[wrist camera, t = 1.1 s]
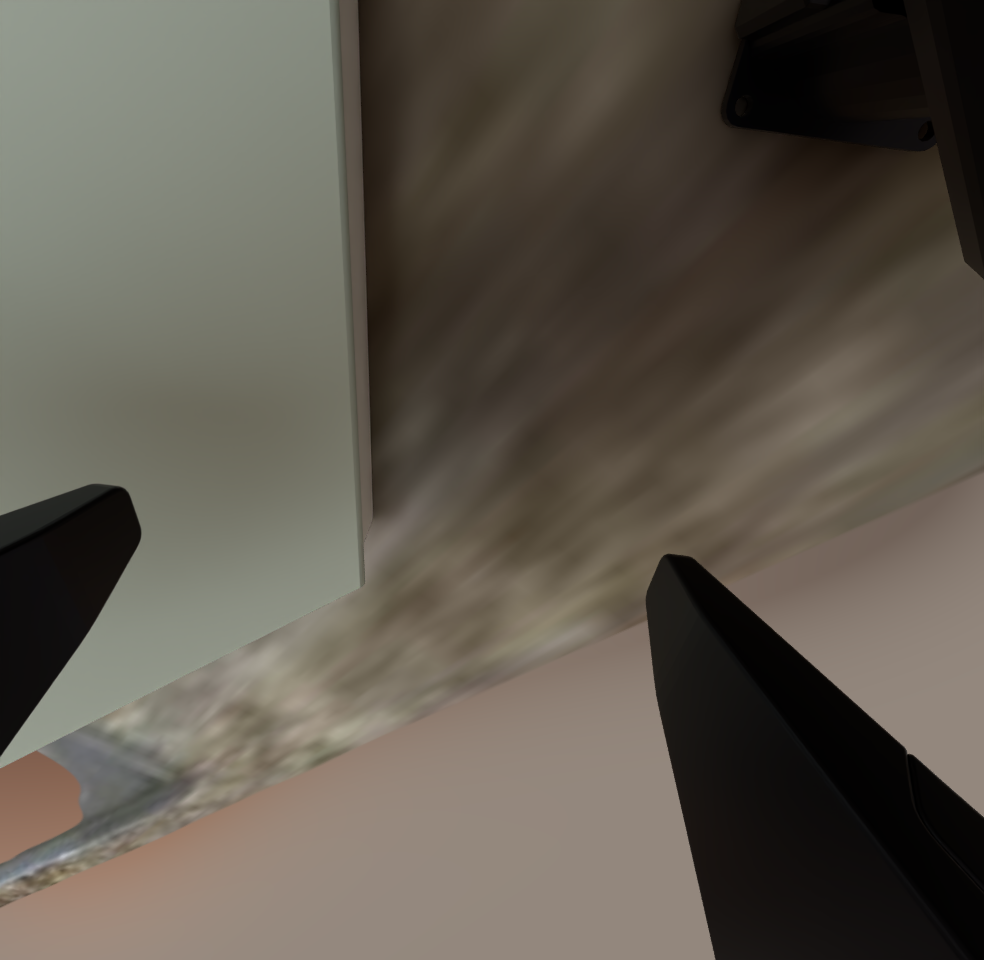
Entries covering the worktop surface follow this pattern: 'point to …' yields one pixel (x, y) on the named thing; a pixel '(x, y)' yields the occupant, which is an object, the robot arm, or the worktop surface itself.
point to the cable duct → (357, 241)
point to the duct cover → (180, 320)
